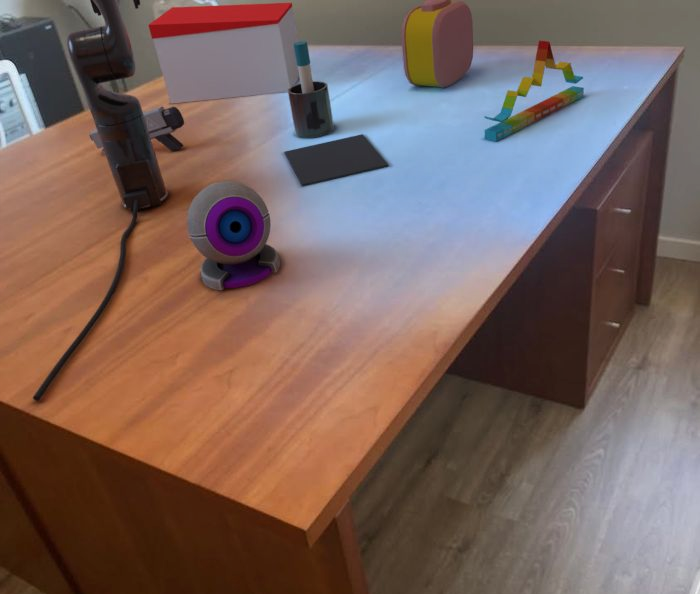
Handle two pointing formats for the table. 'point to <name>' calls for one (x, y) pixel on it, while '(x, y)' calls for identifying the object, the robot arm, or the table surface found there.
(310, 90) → the marker
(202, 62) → the red-lidded white box
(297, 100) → the pen holder
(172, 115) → the gun
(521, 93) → the chart
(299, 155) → the desk mat
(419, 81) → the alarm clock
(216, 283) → the webcam
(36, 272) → the table surface
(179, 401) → the table surface
